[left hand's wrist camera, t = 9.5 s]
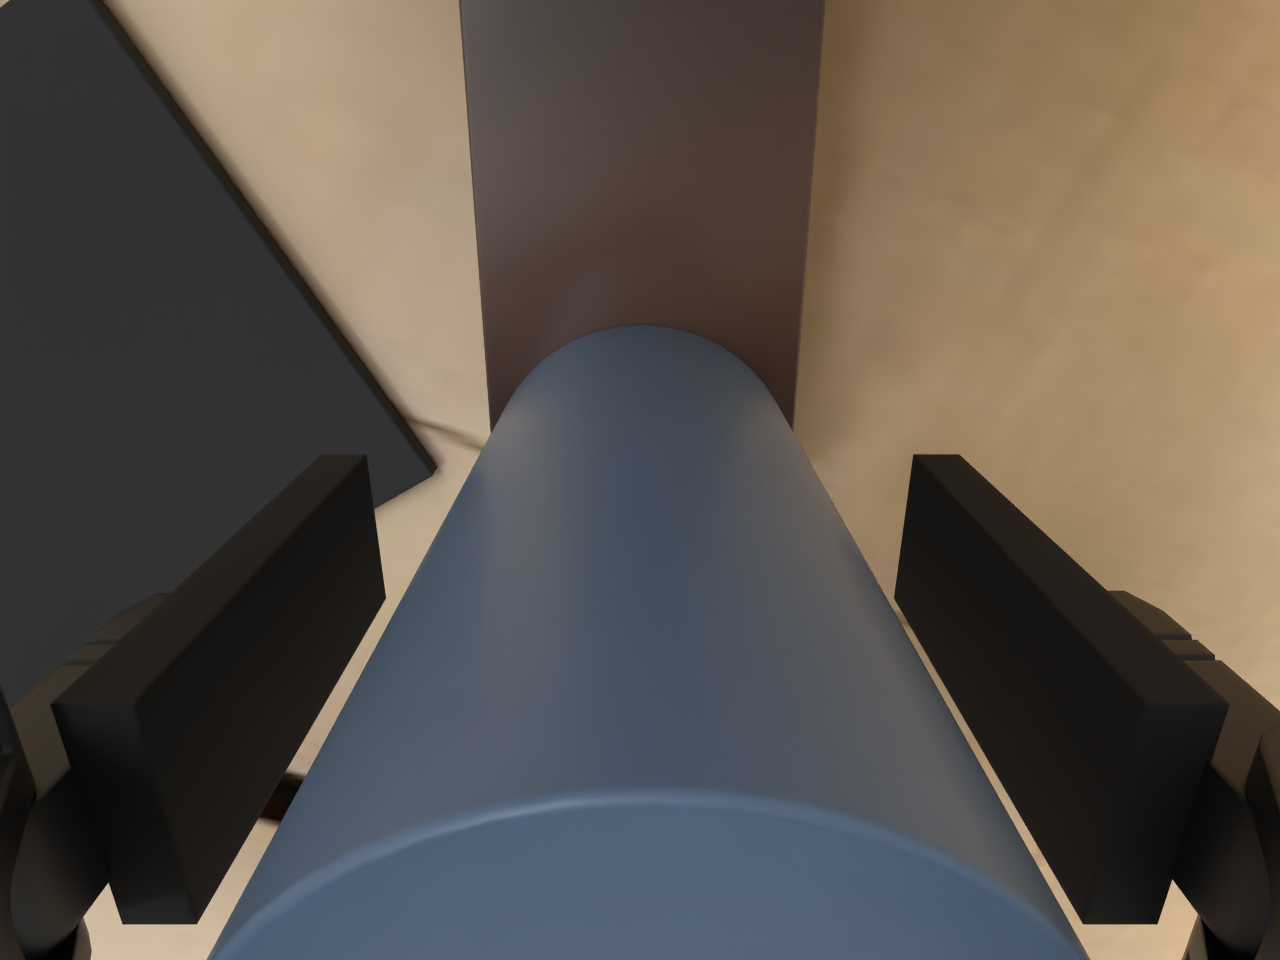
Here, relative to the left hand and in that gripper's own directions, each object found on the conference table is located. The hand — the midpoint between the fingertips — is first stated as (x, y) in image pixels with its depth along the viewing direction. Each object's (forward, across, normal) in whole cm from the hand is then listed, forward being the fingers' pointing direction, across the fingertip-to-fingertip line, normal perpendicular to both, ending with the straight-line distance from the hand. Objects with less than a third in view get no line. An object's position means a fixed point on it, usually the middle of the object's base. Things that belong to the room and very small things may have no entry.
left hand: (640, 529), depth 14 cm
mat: (+9, +18, +1) cm, 20 cm away
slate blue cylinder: (+3, 0, 0) cm, 3 cm away
